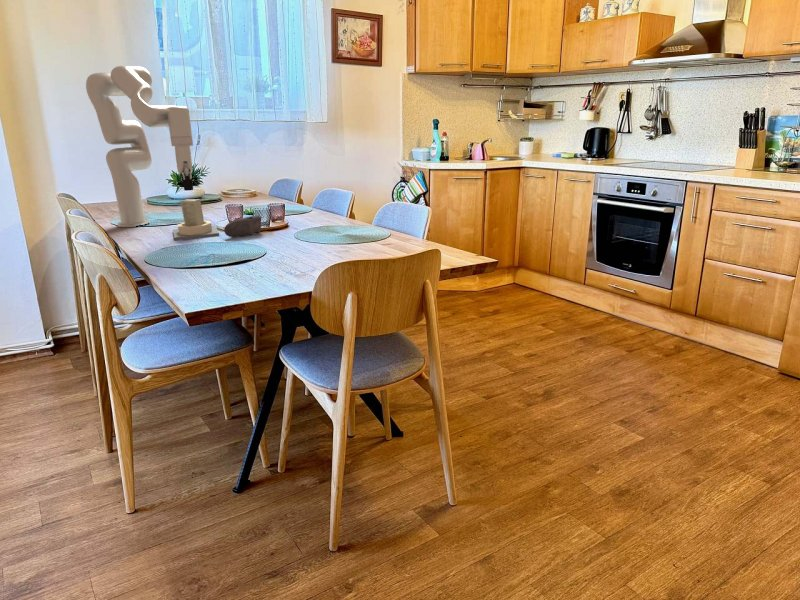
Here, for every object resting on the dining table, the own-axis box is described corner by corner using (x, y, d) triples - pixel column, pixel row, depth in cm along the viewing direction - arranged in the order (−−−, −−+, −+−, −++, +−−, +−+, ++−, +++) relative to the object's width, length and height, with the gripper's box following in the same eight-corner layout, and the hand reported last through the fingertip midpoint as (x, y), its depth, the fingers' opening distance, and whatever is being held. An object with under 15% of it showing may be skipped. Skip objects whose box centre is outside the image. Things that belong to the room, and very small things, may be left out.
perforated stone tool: (227, 240, 207) (224, 221, 205) (223, 237, 211) (220, 219, 209) (266, 234, 214) (264, 216, 212) (261, 232, 219) (259, 214, 216)
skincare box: (205, 230, 219) (201, 199, 215) (198, 232, 215) (194, 200, 211) (192, 229, 221) (187, 198, 217) (184, 232, 217) (179, 200, 213)
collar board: (173, 232, 222) (171, 222, 221) (215, 227, 228) (213, 218, 227) (174, 240, 208) (172, 229, 207) (219, 235, 214) (217, 225, 213)
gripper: (170, 140, 213) (176, 185, 219) (171, 143, 198) (178, 192, 204) (191, 139, 215) (196, 184, 221) (194, 143, 200) (200, 191, 206)
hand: (188, 188), depth 213 cm, fingers open, 9 cm apart
